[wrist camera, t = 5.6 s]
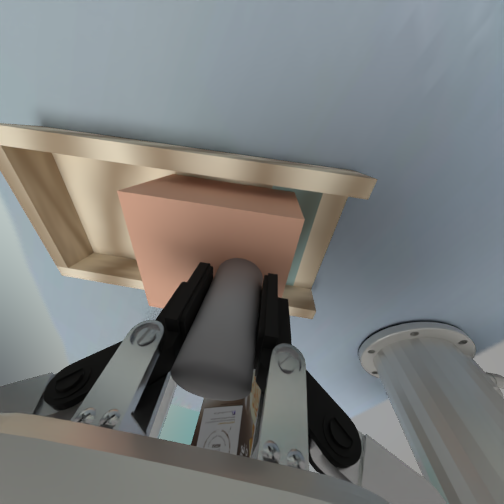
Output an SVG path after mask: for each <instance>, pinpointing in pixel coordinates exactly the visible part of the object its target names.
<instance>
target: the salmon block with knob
mask: <svg viewBox="0 0 504 504" xmlns="http://www.w3.org/2000/svg"><path fill="white" fill-rule="evenodd" d="M117 193H118V197H119V201H120V204H121V208H122V211H123V215H124V218H125V222H126V225H127V229H128V232H129V236H130V240H131V243H132V247H133V250H134V254H135V257H136V261H137V264H138V268H139V271H140V275H141V279H142V282H143V286H144V289H145V293H146V296H147V300H148V303H149V306H153V307H159V308H164V307H165V305H166V304H167V303H168V301H169V300H170V298H171V297H172V295H173V294H174V292H175V291H176V289H177V288H178V287H179V285H180V284H181V283H182V282H187V281H188V280H189V278H190V277H191V275H192V274H193V272H194V271H195V269H196V267H197V266H198V264H199V263H200V262H204V263H210V266H213V281H212V283H211V285H210V287H209V289H208V292H207V294H206V296H205V298H204V300H203V302H202V304H201V307H200V309H199V311H198V313H197V315H196V317H195V320H194V322H193V324H192V326H191V328H190V330H189V332H188V335H187V337H186V339H185V341H184V343H183V345H182V347H181V350H180V352H179V354H178V356H177V358H176V360H175V363H174V365H173V367H172V369H171V377H172V379H173V380H174V381H175V383H176V384H178V385H179V386H180V387H181V388H183V389H185V390H186V391H188V392H190V393H192V394H195V395H197V396H200V397H204V398H208V399H212V400H219V401H234V400H239V399H243V398H245V397H247V396H248V395H249V394H250V393H251V389H252V380H253V370H254V360H255V349H256V340H257V330H258V320H259V311H260V301H261V291H262V285H263V280H264V275H268V273H272V274H278V297H279V298H282V295H283V292H284V289H285V285H286V282H287V278H288V275H289V272H290V268H291V265H292V261H293V258H294V254H295V251H296V248H297V244H298V241H299V237H300V234H301V231H302V227H303V224H304V220H305V219H304V217H303V214H302V211H301V208H300V206H299V203H298V200H297V198H296V195H295V192H290V191H283V190H276V189H270V188H263V187H256V186H250V185H243V184H236V183H229V182H223V181H216V180H209V179H202V178H196V177H189V176H182V175H176V174H171V175H168V176H165V177H161V178H158V179H155V180H151V181H148V182H145V183H141V184H138V185H134V186H131V187H128V188H124V189H121V190H118V191H117Z"/></svg>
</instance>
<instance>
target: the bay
mask: <svg viewBox="0 0 504 504" xmlns="http://www.w3.org/2000/svg"><path fill="white" fill-rule="evenodd" d="M0 171H1V172H2V174H3V176H4V177H5V179H6V181H7V183H8V184H9V186H10V188H11V189H12V191H13V193H14V194H15V196H16V198H17V200H18V201H19V203H20V205H21V206H22V208H23V210H24V211H25V213H26V215H27V217H28V218H29V220H30V222H31V223H32V225H33V227H34V228H35V230H36V232H37V234H38V235H39V237H40V239H41V240H42V242H43V244H44V245H45V247H46V249H47V251H48V252H49V254H50V256H51V257H52V259H53V261H54V263H55V264H56V266H57V268H58V269H59V271H60V273H61V274H62V275H63V276H69V277H74V278H80V279H86V280H91V281H97V282H103V283H108V284H114V285H120V286H126V287H131V288H137V289H143V290H145V289H144V286H143V282H142V279H141V275H140V271H139V268H138V264H137V261H136V257H135V254H134V250H133V247H132V243H131V240H130V236H129V232H128V229H127V225H126V222H125V218H124V215H123V211H122V208H121V204H120V201H119V197H118V193H117V191H118V190H121V189H124V188H128V187H131V186H134V185H138V184H141V183H145V182H148V181H151V180H155V179H158V178H161V177H165V176H168V175H171V174H176V175H182V176H189V177H196V178H202V179H209V180H216V181H223V182H229V183H236V184H243V185H250V186H256V187H263V188H270V189H276V190H283V191H290V192H295V195H296V198H297V200H298V203H299V206H300V208H301V211H302V214H303V217H304V219H305V220H304V224H303V227H302V231H301V234H300V237H299V241H298V244H297V248H296V251H295V254H294V258H293V261H292V265H291V268H290V272H289V275H288V278H287V282H286V285H285V289H284V292H283V295H282V298H285V299H288V303H289V315H291V316H297V317H302V318H308V319H313V317H314V315H315V313H316V308H315V304H314V300H313V296H312V291H311V288H312V285H313V283H314V280H315V278H316V275H317V273H318V270H319V268H320V265H321V263H322V260H323V258H324V255H325V253H326V250H327V248H328V245H329V243H330V240H331V238H332V235H333V233H334V230H335V228H336V226H337V223H338V221H339V218H340V216H341V213H342V211H343V208H344V206H345V203H346V201H347V198H348V197H354V198H361V199H369V197H370V194H371V192H372V190H373V188H374V186H375V184H376V182H377V179H375V178H372V177H369V176H367V175H364V174H361V173H358V172H355V171H352V170H345V169H338V168H331V167H324V166H317V165H310V164H303V163H296V162H289V161H282V160H275V159H268V158H261V157H254V156H247V155H240V154H233V153H226V152H219V151H212V150H205V149H198V148H191V147H184V146H177V145H170V144H163V143H156V142H149V141H141V140H134V139H127V138H120V137H113V136H106V135H99V134H92V133H85V132H78V131H71V130H64V129H57V128H50V127H43V126H31V125H17V124H4V123H0Z"/></svg>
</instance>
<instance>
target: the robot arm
mask: <svg viewBox="0 0 504 504" xmlns="http://www.w3.org/2000/svg"><path fill="white" fill-rule="evenodd" d="M212 281H213V266H210V263H204V262H200V263H199V264H198V266H197V267H196V269H195V271H194V272H193V274H192V275H191V277H190V278H189V280H188V281H187V282H182V283H181V284H180V285H179V287H178V288H177V289H176V291H175V292H174V294H173V295H172V297H171V298H170V300H169V301H168V303H167V304H166V305H165V307H164V308H163V310H162V311H161V313H160V314H159V316H158V317H157V319H156V320H147V321H143V322H141V323H139V324H137V325H136V326H134V327H133V328H132V329H131V330H130V331H129V333H128V334H127V336H126V337H125V339H124V340H123V341H121V342H119V343H117V344H115V345H112V346H110V347H108V348H106V349H104V350H101V351H99V352H97V353H95V354H92V355H90V356H88V357H86V358H84V359H81V360H79V361H77V362H75V363H73V364H71V365H69V366H67V367H65V368H64V369H63V370H61V371H60V372H59V373H57V374H53V373H48V374H45V375H41V376H37V377H33V378H29V379H26V380H22V381H18V382H15V383H11V384H7V385H4V386H0V504H504V399H503V394H502V392H501V391H500V389H499V388H504V377H502V376H500V375H497V374H492V373H485V372H484V371H483V370H482V369H481V368H480V366H479V365H478V364H477V363H476V362H475V361H474V360H473V358H474V355H475V352H476V348H475V344H474V343H473V341H472V340H471V339H470V338H469V337H468V336H467V335H466V334H465V333H464V332H463V331H461V330H460V329H458V328H456V327H454V326H450V325H447V324H442V323H437V322H412V323H405V324H400V325H396V326H392V327H389V328H386V329H384V330H381V331H379V332H377V333H376V334H374V335H372V336H371V337H369V338H368V339H367V340H366V341H365V342H364V343H363V344H362V345H361V347H360V349H359V354H358V356H359V360H360V362H361V364H362V367H363V368H364V369H365V370H366V371H367V372H368V373H369V374H371V375H373V376H375V377H377V378H380V379H381V382H382V384H383V386H384V389H385V391H386V393H387V395H388V398H389V400H390V402H391V404H392V407H393V409H394V411H395V413H396V416H397V418H398V420H399V423H400V425H401V427H402V429H403V432H404V434H405V436H406V439H407V440H408V443H409V445H410V448H411V450H412V452H413V454H414V457H415V459H416V461H417V464H418V466H419V468H420V470H421V473H422V475H423V477H424V478H423V477H422V476H421V475H420V474H418V473H417V472H415V471H414V470H413V469H412V468H410V467H409V466H408V465H406V464H405V463H404V462H403V461H401V460H400V459H398V458H397V457H396V456H395V455H393V454H392V453H391V452H389V451H388V450H387V449H385V448H384V447H383V446H382V445H380V444H379V443H378V442H376V441H375V440H374V439H372V438H371V437H370V436H368V435H367V434H366V435H363V434H362V433H361V432H359V431H358V430H357V429H356V427H355V425H354V423H353V422H352V421H351V419H350V418H349V417H348V416H347V414H346V413H345V412H344V411H343V410H342V409H341V408H340V407H339V406H338V404H337V403H336V402H335V401H334V400H333V399H332V398H331V397H330V396H329V395H328V393H327V392H326V391H325V390H324V389H323V388H322V387H321V386H320V385H319V383H318V382H317V381H316V380H315V379H314V378H313V377H312V376H311V375H310V373H309V372H308V371H307V370H306V364H305V359H304V357H303V355H302V353H301V352H300V351H299V350H298V349H297V348H296V347H295V346H293V345H292V344H291V330H290V317H289V303H288V299H285V298H279V297H278V274H272V273H268V275H264V280H263V285H262V291H261V301H260V311H259V320H258V330H257V340H256V349H255V360H254V369H255V376H256V381H255V382H256V383H257V385H258V386H259V388H260V389H261V391H260V397H259V403H258V410H257V416H256V423H255V429H254V435H253V442H252V448H251V455H250V458H248V457H244V456H239V455H234V454H229V453H225V452H220V451H215V450H210V449H206V448H201V447H196V446H191V445H186V444H181V443H177V442H172V441H167V440H162V439H157V438H153V437H149V435H150V432H151V429H152V426H153V424H154V421H155V418H156V415H157V413H158V410H159V407H160V404H161V401H162V399H163V396H164V393H165V390H166V387H167V385H168V382H169V379H170V376H171V369H172V367H173V365H174V363H175V360H176V358H177V356H178V354H179V352H180V350H181V347H182V345H183V343H184V341H185V339H186V337H187V335H188V332H189V330H190V328H191V326H192V324H193V322H194V320H195V317H196V315H197V313H198V311H199V309H200V307H201V304H202V302H203V300H204V298H205V296H206V294H207V292H208V289H209V287H210V285H211V283H212ZM309 463H310V464H311V465H312V466H313V468H314V469H315V470H316V471H317V472H319V473H320V474H319V473H315V472H311V471H309Z"/></svg>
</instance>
